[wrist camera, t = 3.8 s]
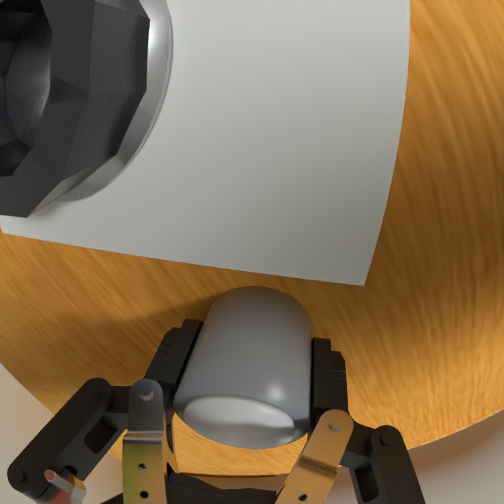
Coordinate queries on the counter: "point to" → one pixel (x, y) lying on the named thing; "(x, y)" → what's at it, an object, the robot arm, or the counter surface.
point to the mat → (259, 143)
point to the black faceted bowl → (77, 94)
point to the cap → (250, 371)
